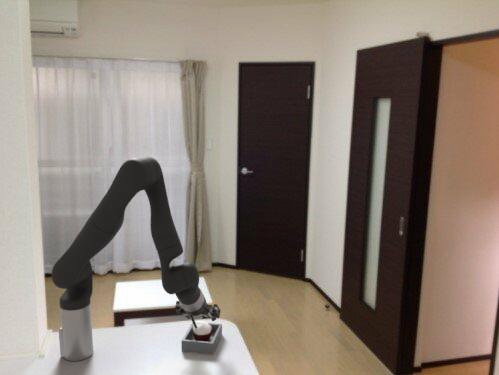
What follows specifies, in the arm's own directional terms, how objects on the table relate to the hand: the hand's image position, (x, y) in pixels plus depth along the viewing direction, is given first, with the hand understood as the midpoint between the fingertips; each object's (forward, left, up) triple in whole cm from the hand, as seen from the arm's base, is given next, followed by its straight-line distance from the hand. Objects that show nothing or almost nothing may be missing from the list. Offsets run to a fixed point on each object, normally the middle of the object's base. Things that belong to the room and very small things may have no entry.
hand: (201, 317), depth 160 cm
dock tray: (0, 0, -9) cm, 9 cm away
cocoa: (0, 0, -9) cm, 9 cm away
